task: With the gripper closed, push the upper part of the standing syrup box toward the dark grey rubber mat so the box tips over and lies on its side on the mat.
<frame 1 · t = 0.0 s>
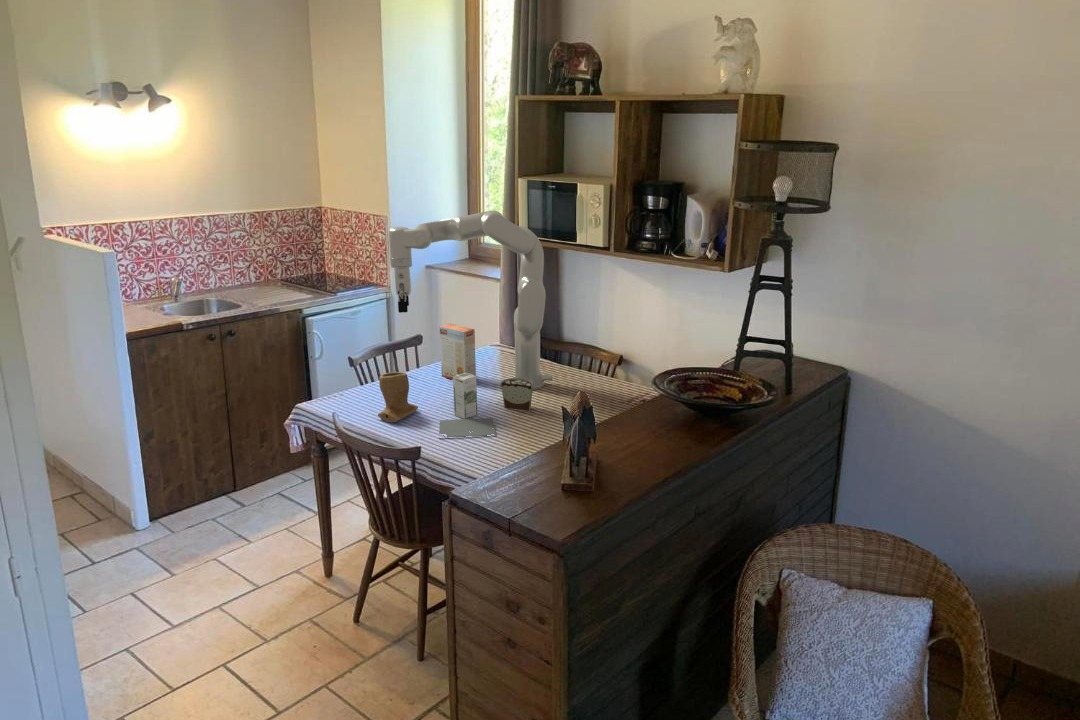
hand: (403, 309, 287), 31 cm above the table, tool pointing down, fingers open, 9 cm apart
stone cup: (396, 416, 271), on the table
food container: (519, 407, 279), on the table
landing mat: (467, 428, 260), on the table
cracker box: (459, 379, 309), on the table
syrup box: (466, 416, 271), on the table
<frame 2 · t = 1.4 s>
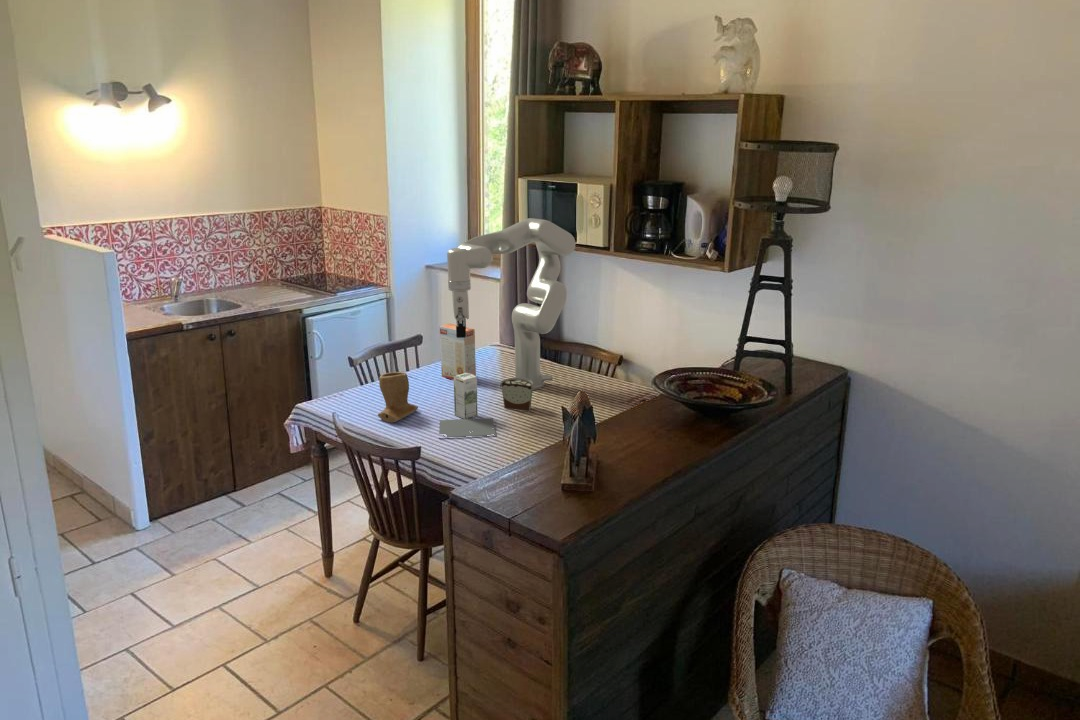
hand: (461, 333, 273), 26 cm above the table, tool pointing down, fingers open, 9 cm apart
nothing on the table moved.
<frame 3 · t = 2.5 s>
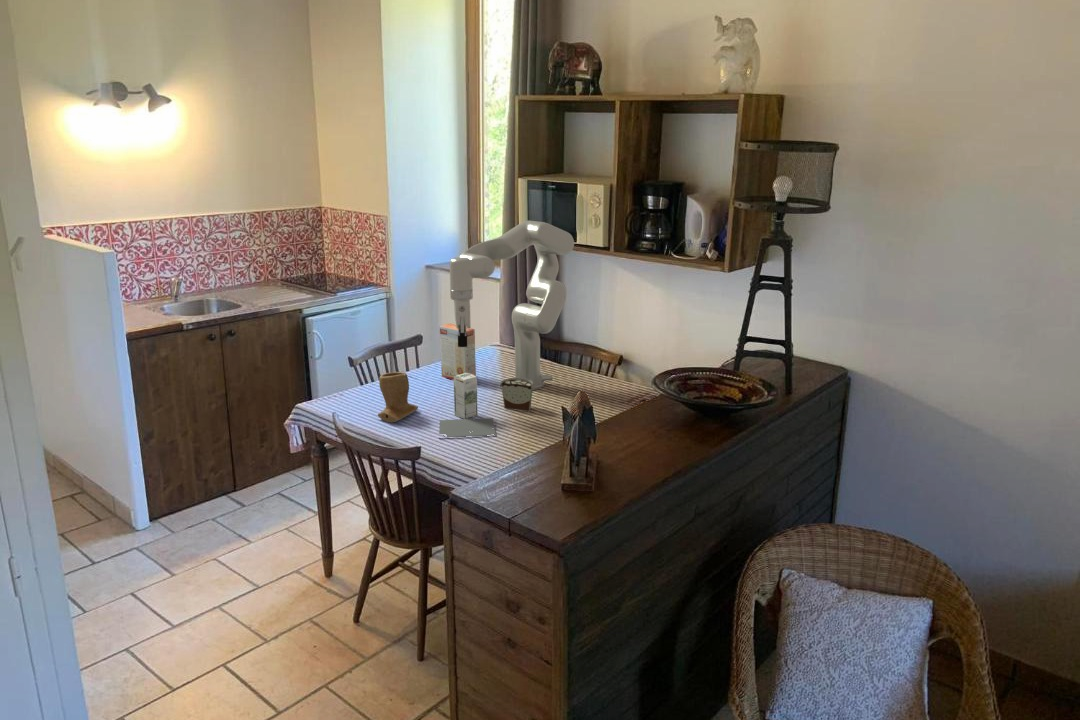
hand: (462, 346, 273), 22 cm above the table, tool pointing down, fingers closed
nothing on the table moved.
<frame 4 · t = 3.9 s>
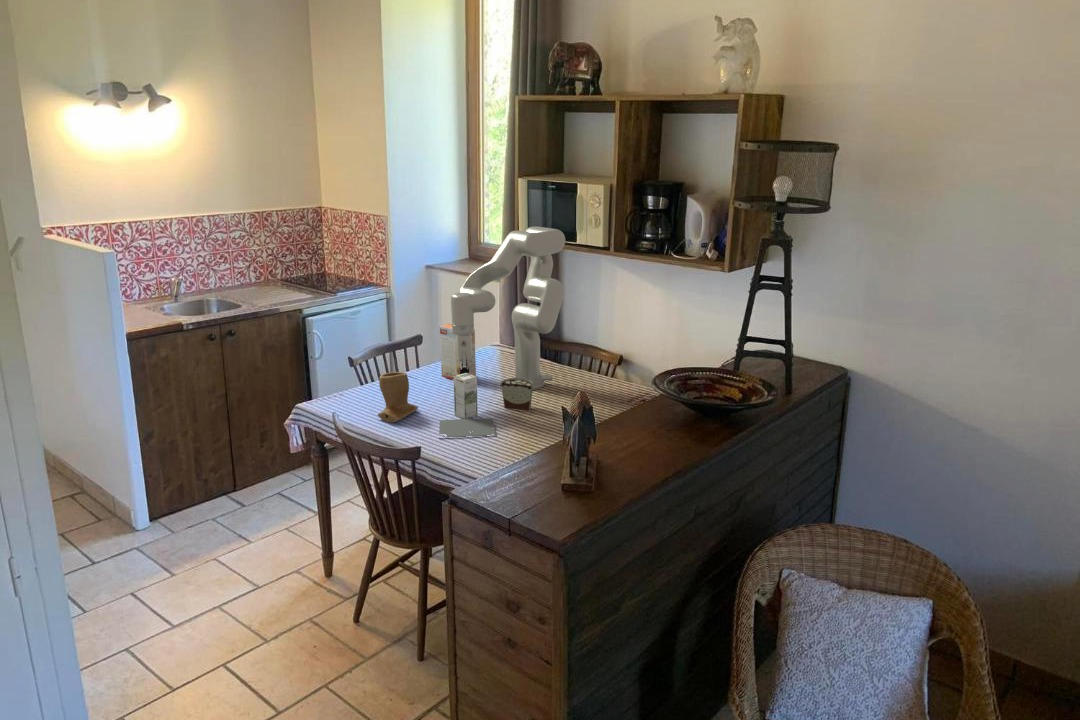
hand: (464, 379, 277), 10 cm above the table, tool pointing down, fingers closed
nothing on the table moved.
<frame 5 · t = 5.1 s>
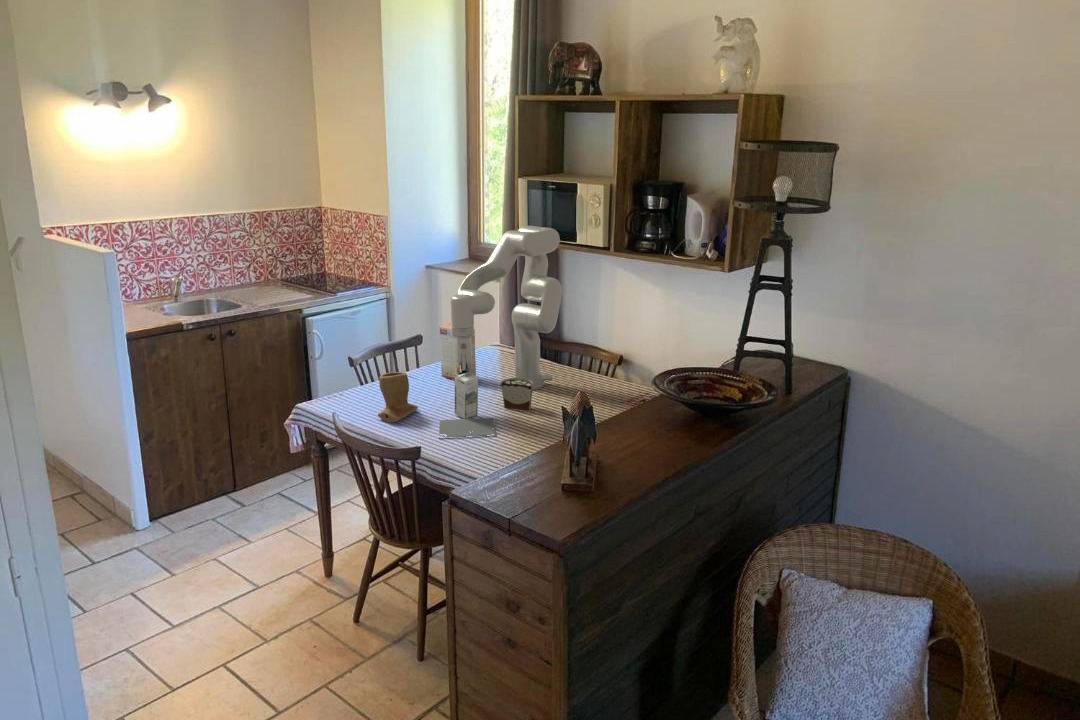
hand: (464, 382, 272), 10 cm above the table, tool pointing down, fingers closed
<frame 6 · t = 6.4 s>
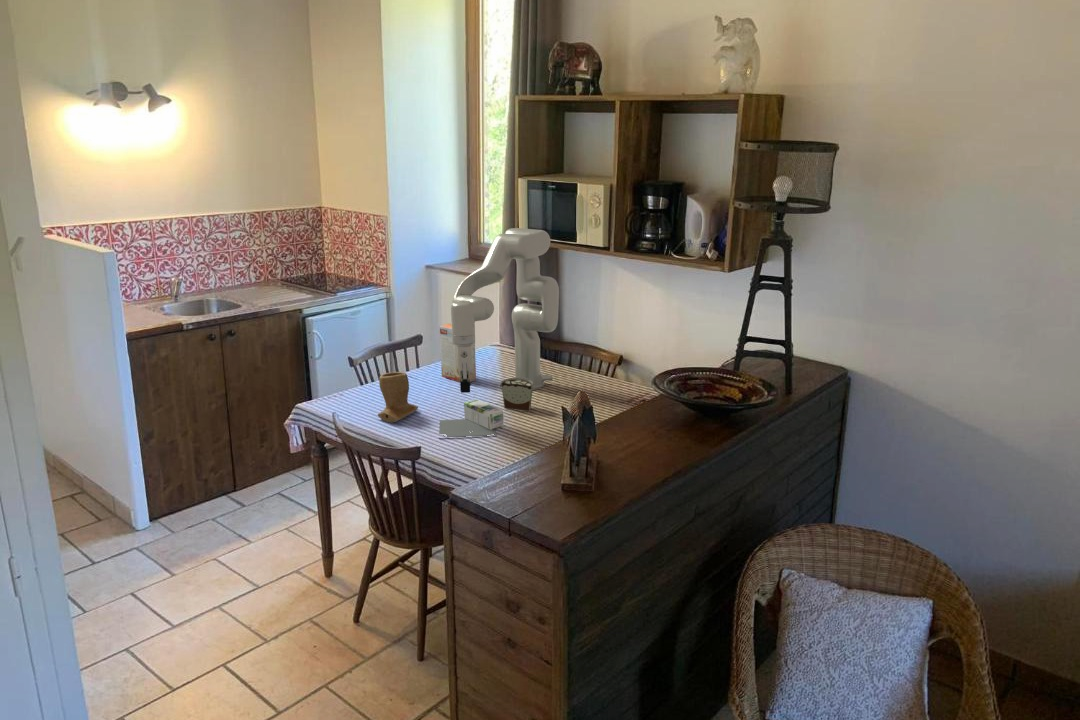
hand: (465, 391, 264), 10 cm above the table, tool pointing down, fingers closed
syrup box: (470, 408, 268), point 3 cm above the table, touching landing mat
everything else where it was.
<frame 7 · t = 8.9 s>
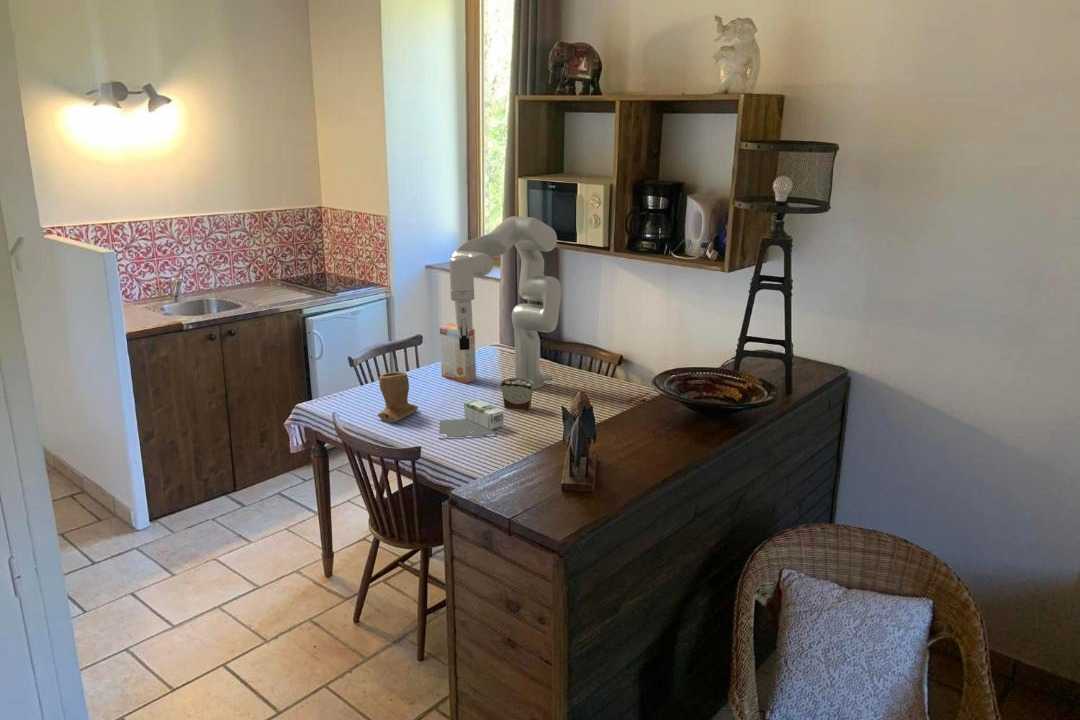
hand: (464, 349, 260), 25 cm above the table, tool pointing down, fingers closed
nothing on the table moved.
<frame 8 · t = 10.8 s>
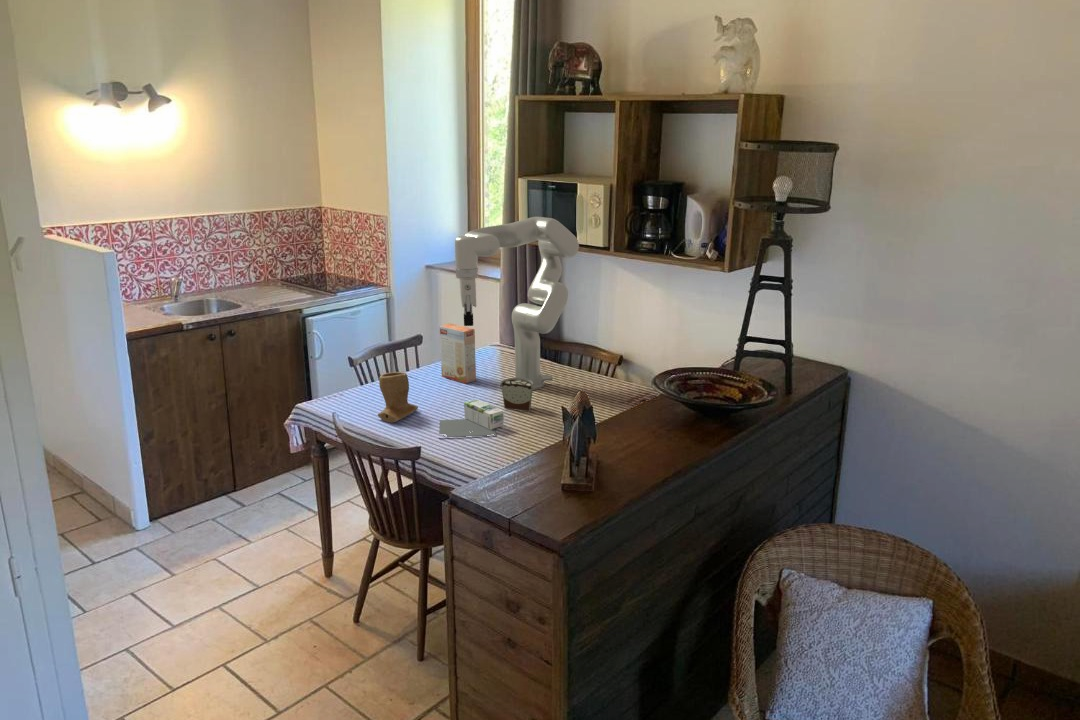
hand: (468, 325, 273), 29 cm above the table, tool pointing down, fingers closed
nothing on the table moved.
at the end: syrup box tilted 89°; syrup box touching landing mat; syrup box inside the target area (6.1 cm from its centre), point 3.3 cm above the table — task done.
